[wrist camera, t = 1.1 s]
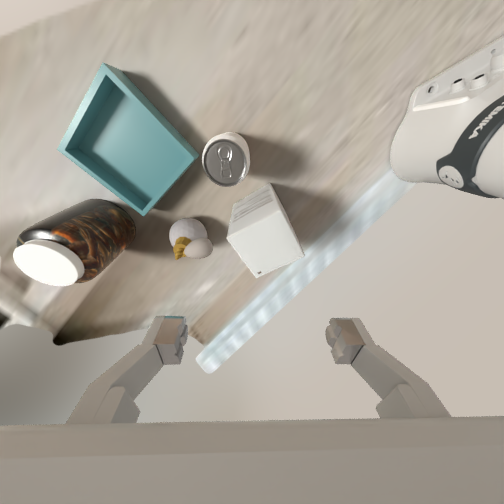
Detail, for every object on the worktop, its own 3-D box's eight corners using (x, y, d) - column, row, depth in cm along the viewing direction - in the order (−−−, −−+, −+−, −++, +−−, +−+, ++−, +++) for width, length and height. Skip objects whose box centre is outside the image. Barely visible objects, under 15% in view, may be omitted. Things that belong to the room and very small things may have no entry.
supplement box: (289, 218, 42) (307, 258, 29) (253, 236, 44) (256, 280, 32) (270, 180, 37) (282, 208, 25) (231, 203, 40) (224, 239, 27)
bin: (120, 70, 28) (102, 62, 25) (199, 155, 35) (194, 158, 31) (76, 146, 33) (56, 149, 30) (152, 208, 40) (143, 216, 36)
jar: (96, 185, 37) (19, 216, 25) (146, 229, 42) (104, 272, 30) (65, 219, 41) (-16, 261, 28) (115, 255, 46) (66, 304, 34)
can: (248, 130, 33) (248, 133, 23) (250, 171, 36) (251, 188, 26) (210, 132, 33) (194, 136, 23) (216, 173, 36) (204, 191, 26)
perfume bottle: (168, 227, 42) (143, 258, 32) (197, 198, 39) (180, 223, 29) (194, 248, 45) (179, 283, 35) (223, 224, 42) (216, 254, 32)
